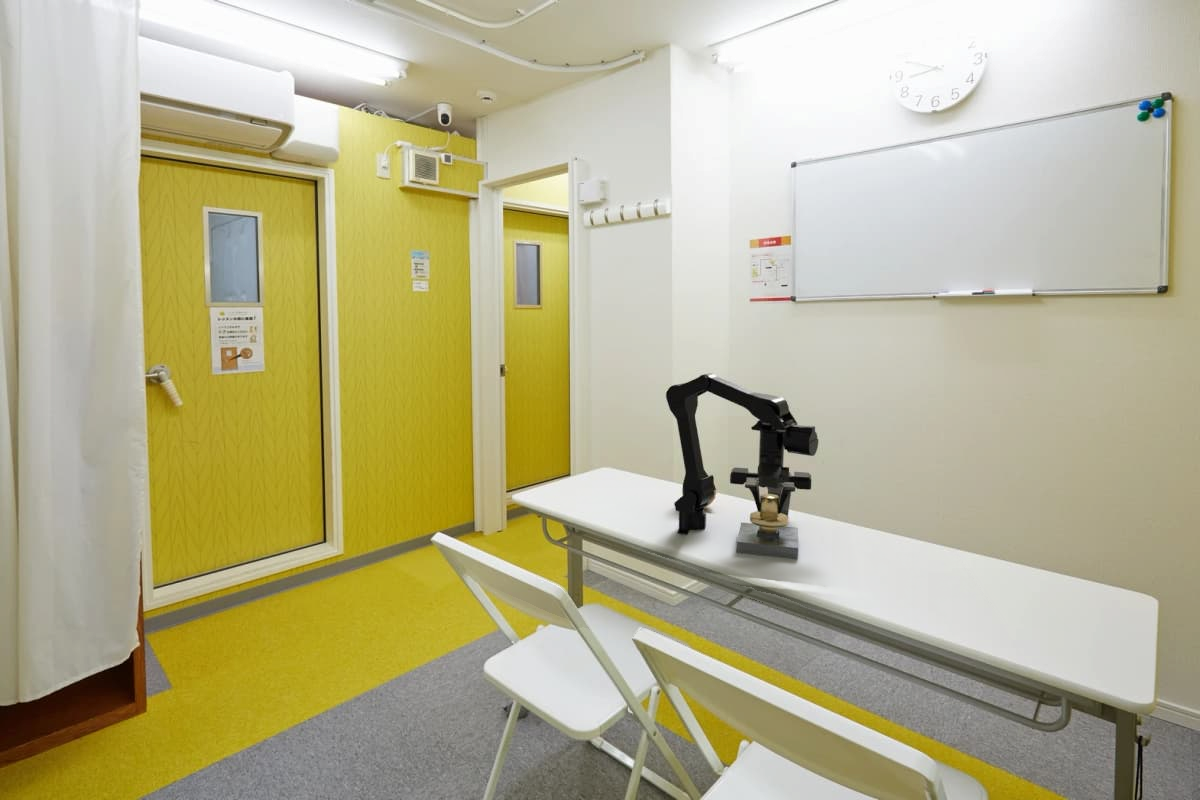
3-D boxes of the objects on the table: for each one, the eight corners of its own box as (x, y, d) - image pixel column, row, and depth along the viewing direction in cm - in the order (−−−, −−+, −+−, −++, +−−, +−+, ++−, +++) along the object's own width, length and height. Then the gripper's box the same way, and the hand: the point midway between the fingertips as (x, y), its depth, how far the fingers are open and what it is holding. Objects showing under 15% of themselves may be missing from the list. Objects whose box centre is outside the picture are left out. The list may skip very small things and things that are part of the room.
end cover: (748, 536, 154) (749, 500, 153) (750, 524, 163) (751, 490, 161) (787, 540, 152) (788, 503, 150) (787, 527, 160) (789, 493, 159)
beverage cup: (793, 528, 173) (796, 455, 170) (765, 526, 174) (767, 454, 171) (790, 519, 180) (793, 449, 177) (763, 517, 181) (766, 448, 178)
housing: (736, 557, 153) (736, 541, 153) (740, 537, 167) (741, 522, 166) (797, 564, 149) (798, 547, 149) (797, 542, 163) (797, 527, 162)
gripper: (728, 454, 149) (726, 519, 152) (813, 460, 144) (809, 527, 146) (733, 444, 160) (731, 505, 162) (812, 449, 154) (809, 512, 157)
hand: (769, 512), depth 156 cm, fingers closed on end cover, 4 cm apart
